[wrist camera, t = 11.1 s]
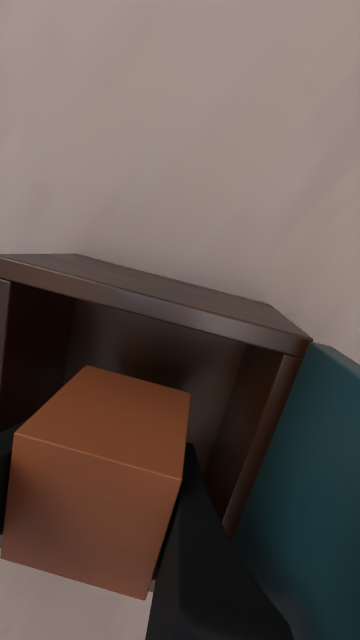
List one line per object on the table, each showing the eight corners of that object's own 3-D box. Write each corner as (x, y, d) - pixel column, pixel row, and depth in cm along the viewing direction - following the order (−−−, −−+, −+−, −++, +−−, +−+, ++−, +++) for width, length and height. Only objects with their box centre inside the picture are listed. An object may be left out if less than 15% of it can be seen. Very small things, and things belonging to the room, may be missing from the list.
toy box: (45, 447, 19) (-30, 540, 13) (74, 253, 16) (-9, 253, 10) (207, 493, 19) (207, 609, 13) (271, 304, 16) (314, 339, 9)
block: (70, 453, 14) (-1, 559, 9) (86, 364, 13) (13, 433, 8) (166, 479, 14) (145, 601, 9) (191, 392, 13) (182, 480, 8)
